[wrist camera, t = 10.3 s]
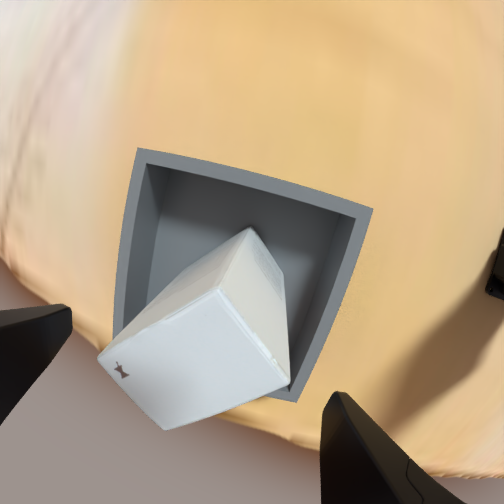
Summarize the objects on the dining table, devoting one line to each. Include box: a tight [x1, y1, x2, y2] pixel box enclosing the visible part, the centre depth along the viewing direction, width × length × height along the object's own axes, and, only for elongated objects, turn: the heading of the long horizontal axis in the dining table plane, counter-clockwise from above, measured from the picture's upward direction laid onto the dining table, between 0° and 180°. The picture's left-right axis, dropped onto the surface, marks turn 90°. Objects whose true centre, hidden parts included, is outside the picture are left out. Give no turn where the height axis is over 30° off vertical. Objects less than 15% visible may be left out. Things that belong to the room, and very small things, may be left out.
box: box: [113, 148, 373, 403], centre depth 19 cm, size 14×14×4 cm
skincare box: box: [97, 226, 290, 431], centre depth 14 cm, size 6×4×12 cm
